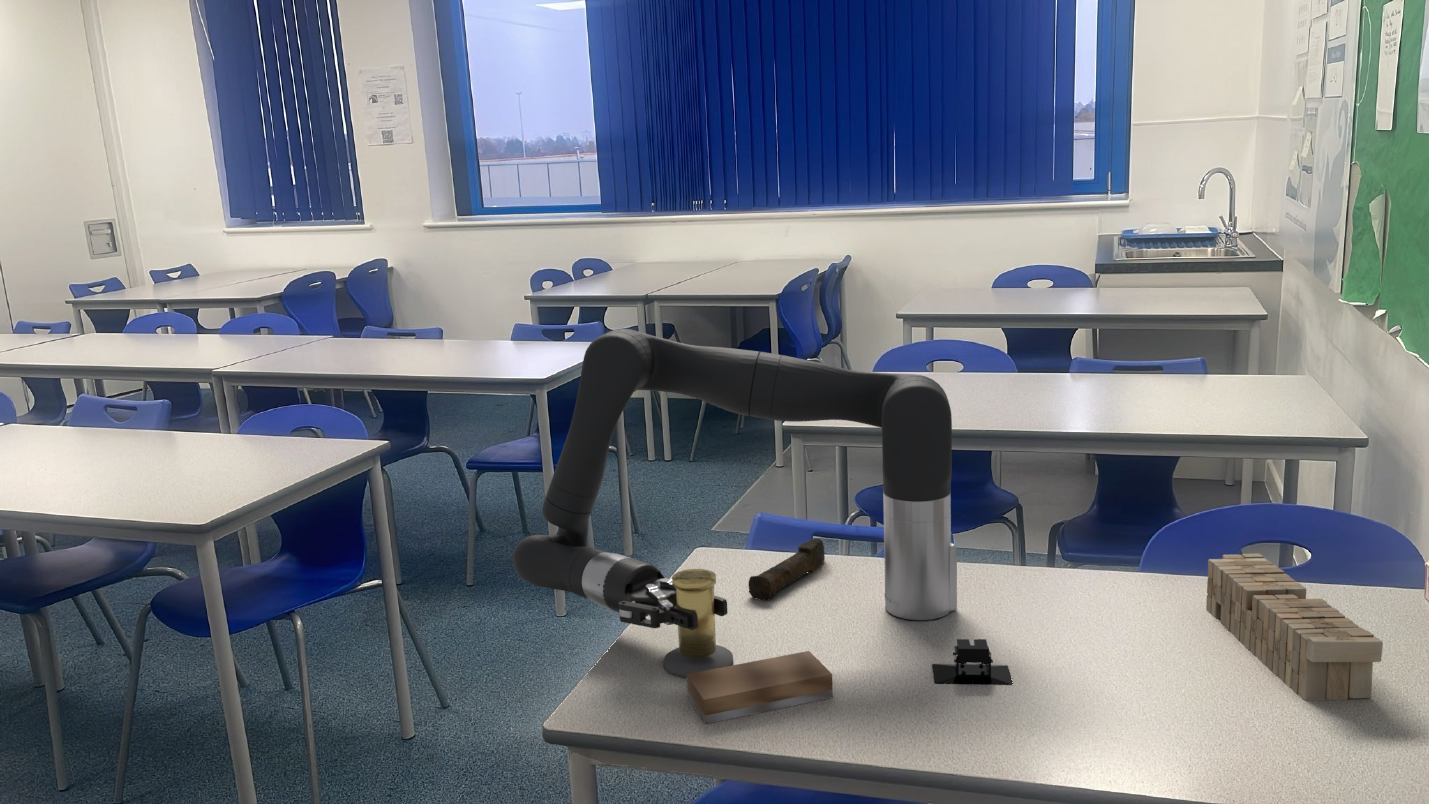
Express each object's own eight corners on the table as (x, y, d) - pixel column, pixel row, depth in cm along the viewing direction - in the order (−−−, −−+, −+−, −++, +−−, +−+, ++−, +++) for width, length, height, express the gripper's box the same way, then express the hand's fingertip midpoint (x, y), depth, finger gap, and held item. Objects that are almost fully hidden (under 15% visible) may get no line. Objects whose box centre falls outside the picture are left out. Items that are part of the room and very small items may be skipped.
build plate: (1020, 666, 134) (1020, 632, 133) (1028, 693, 127) (1029, 658, 126) (919, 664, 136) (919, 631, 135) (922, 691, 129) (922, 656, 128)
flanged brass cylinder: (711, 637, 141) (708, 566, 139) (725, 654, 136) (721, 580, 134) (671, 644, 140) (666, 572, 138) (683, 662, 134) (678, 587, 132)
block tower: (1201, 613, 149) (1307, 708, 120) (1202, 555, 147) (1310, 637, 118) (1259, 611, 148) (1379, 706, 119) (1261, 552, 147) (1383, 635, 118)
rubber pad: (720, 643, 144) (720, 638, 144) (742, 670, 135) (742, 666, 135) (656, 654, 141) (655, 650, 141) (674, 683, 133) (674, 679, 133)
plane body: (809, 673, 134) (809, 650, 133) (832, 697, 127) (832, 674, 127) (687, 697, 129) (686, 674, 129) (705, 723, 123) (704, 699, 122)
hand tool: (769, 604, 157) (768, 575, 156) (747, 599, 159) (746, 570, 158) (839, 565, 171) (839, 538, 170) (818, 560, 173) (818, 534, 172)
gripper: (579, 573, 141) (668, 604, 129) (658, 544, 151) (747, 570, 139) (583, 626, 142) (671, 662, 131) (661, 593, 152) (750, 624, 141)
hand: (710, 614), depth 135 cm, fingers closed on flanged brass cylinder, 4 cm apart
